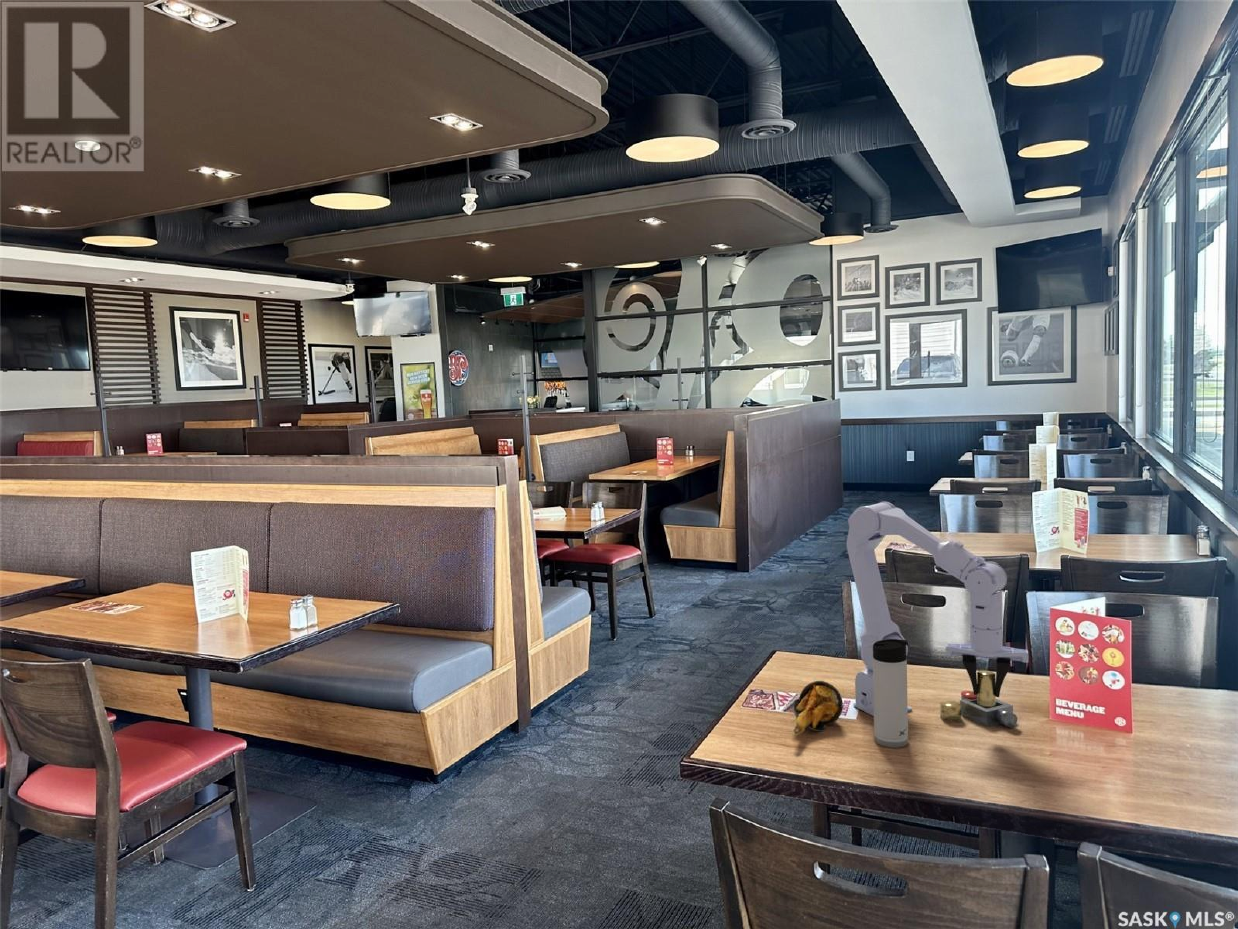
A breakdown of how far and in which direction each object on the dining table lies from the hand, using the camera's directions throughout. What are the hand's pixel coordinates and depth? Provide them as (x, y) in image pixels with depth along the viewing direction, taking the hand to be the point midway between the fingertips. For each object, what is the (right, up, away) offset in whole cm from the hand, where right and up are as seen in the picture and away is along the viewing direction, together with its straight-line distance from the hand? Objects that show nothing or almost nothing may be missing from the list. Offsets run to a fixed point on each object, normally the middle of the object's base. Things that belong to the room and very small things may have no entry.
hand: (986, 694), depth 157 cm
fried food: (-32, -9, +7) cm, 34 cm away
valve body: (+4, -7, +9) cm, 12 cm away
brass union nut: (-3, -8, +9) cm, 13 cm away
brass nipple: (0, -2, 0) cm, 2 cm away
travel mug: (-18, -9, 0) cm, 21 cm away
